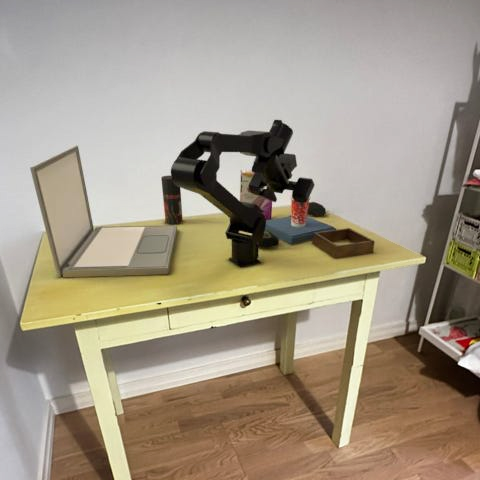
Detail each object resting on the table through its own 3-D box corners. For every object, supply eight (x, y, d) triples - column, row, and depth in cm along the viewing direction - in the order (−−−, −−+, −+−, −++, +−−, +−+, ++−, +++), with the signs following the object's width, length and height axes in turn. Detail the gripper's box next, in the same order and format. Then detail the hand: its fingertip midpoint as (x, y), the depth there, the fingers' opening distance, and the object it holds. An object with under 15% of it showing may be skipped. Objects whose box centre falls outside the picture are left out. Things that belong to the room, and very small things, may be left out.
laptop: (168, 274, 101) (157, 165, 88) (56, 277, 100) (28, 167, 86) (177, 230, 131) (170, 144, 118) (91, 232, 130) (74, 145, 116)
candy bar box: (240, 221, 140) (240, 172, 132) (239, 217, 144) (239, 169, 136) (272, 221, 140) (274, 172, 132) (270, 217, 145) (272, 169, 136)
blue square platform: (291, 244, 120) (291, 236, 119) (257, 228, 133) (258, 221, 132) (335, 234, 128) (336, 226, 127) (300, 220, 142) (300, 213, 140)
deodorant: (181, 224, 137) (178, 179, 129) (164, 224, 137) (159, 179, 129) (183, 219, 142) (180, 175, 134) (167, 219, 142) (163, 175, 134)
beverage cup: (297, 229, 125) (301, 182, 118) (284, 224, 129) (287, 179, 122) (312, 225, 128) (316, 180, 121) (298, 221, 132) (302, 176, 125)
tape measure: (279, 249, 117) (280, 236, 115) (257, 251, 115) (257, 239, 113) (270, 241, 123) (271, 229, 121) (249, 243, 121) (249, 231, 119)
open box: (334, 258, 111) (336, 246, 109) (312, 243, 121) (313, 232, 119) (372, 252, 115) (375, 241, 113) (348, 238, 125) (349, 227, 123)
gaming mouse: (308, 206, 157) (309, 196, 155) (329, 216, 146) (330, 205, 144) (294, 208, 155) (294, 197, 153) (314, 218, 144) (315, 207, 141)
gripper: (315, 146, 103) (328, 184, 116) (254, 141, 112) (273, 176, 125) (297, 183, 101) (313, 217, 114) (237, 175, 110) (258, 207, 124)
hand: (289, 203), depth 120 cm, fingers open, 9 cm apart
